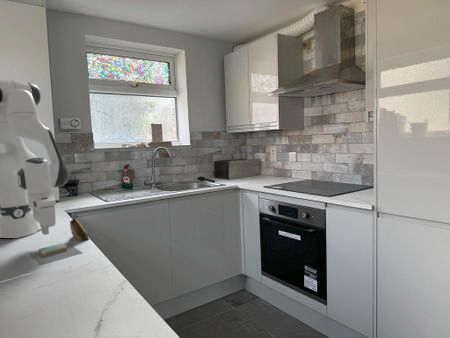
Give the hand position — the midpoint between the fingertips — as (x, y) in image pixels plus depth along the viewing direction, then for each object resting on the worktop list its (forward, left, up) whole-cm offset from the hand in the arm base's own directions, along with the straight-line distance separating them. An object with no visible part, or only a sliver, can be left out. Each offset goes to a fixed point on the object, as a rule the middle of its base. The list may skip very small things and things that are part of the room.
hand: (45, 233), depth 126 cm
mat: (+10, 0, -6) cm, 11 cm away
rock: (-2, +13, -6) cm, 15 cm away
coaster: (+4, 0, -5) cm, 6 cm away
